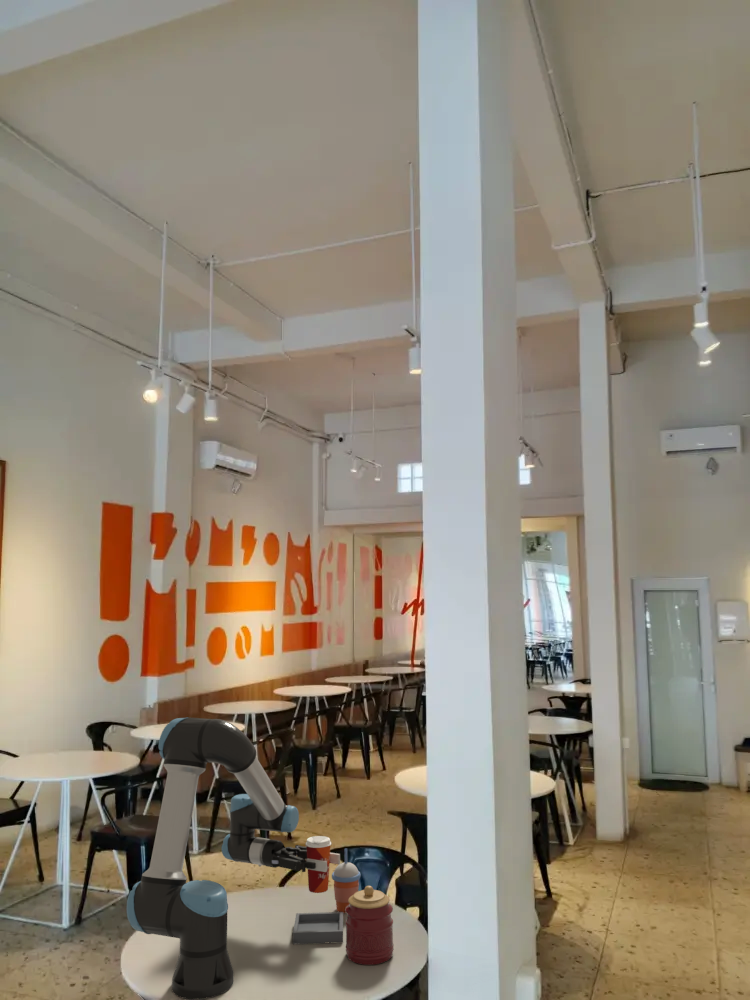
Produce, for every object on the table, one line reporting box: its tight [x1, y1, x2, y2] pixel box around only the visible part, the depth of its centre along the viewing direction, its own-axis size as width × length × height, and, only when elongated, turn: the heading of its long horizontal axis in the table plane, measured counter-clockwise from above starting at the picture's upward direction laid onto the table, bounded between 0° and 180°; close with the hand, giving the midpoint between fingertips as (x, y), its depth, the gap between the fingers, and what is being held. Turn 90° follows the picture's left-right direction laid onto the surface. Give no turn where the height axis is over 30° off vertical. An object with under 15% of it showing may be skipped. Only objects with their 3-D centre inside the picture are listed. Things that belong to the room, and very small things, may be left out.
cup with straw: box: [331, 847, 362, 914], centre depth 241 cm, size 9×9×18 cm
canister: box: [344, 885, 394, 966], centre depth 209 cm, size 13×13×18 cm
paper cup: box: [305, 835, 332, 894], centre depth 226 cm, size 8×8×14 cm
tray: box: [292, 911, 344, 945], centre depth 223 cm, size 14×14×3 cm
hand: (332, 862), depth 223 cm, fingers closed on paper cup, 7 cm apart
